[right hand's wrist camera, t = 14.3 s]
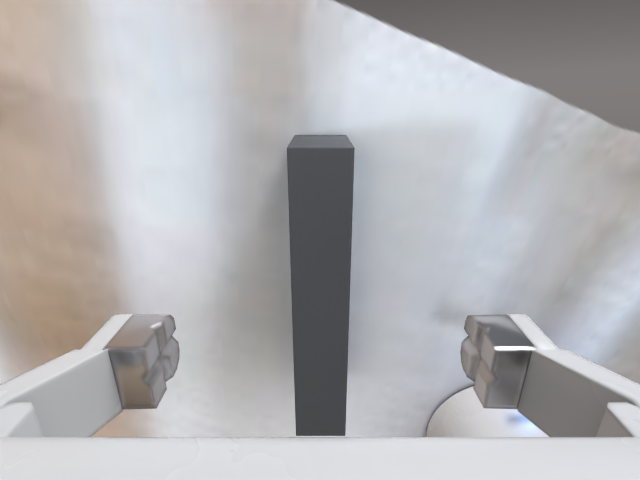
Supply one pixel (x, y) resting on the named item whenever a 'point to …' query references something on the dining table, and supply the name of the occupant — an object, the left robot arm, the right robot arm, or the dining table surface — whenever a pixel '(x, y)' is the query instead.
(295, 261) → the bar
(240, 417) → the dining table surface
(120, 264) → the dining table surface
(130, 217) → the dining table surface
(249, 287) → the dining table surface
